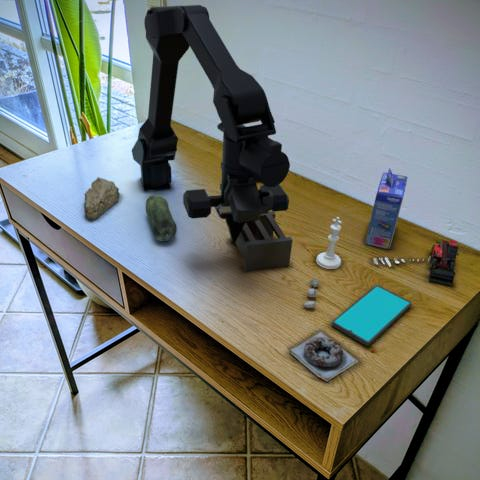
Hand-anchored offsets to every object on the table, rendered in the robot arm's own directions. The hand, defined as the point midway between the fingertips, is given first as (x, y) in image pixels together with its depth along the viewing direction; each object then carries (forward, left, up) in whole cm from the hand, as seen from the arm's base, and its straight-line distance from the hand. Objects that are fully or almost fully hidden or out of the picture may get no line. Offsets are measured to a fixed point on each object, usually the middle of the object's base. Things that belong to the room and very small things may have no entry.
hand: (233, 240), depth 95 cm
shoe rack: (+5, 0, -4) cm, 6 cm away
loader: (+40, -12, -4) cm, 42 cm away
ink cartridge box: (+33, +1, -4) cm, 34 cm away
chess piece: (+18, -6, -4) cm, 20 cm away
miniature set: (+33, -9, -4) cm, 35 cm away
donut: (+7, -30, -4) cm, 31 cm away
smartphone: (+19, -23, -4) cm, 30 cm away
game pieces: (+11, -16, -3) cm, 20 cm away
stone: (-25, +26, +1) cm, 36 cm away
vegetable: (-15, +13, -2) cm, 20 cm away
